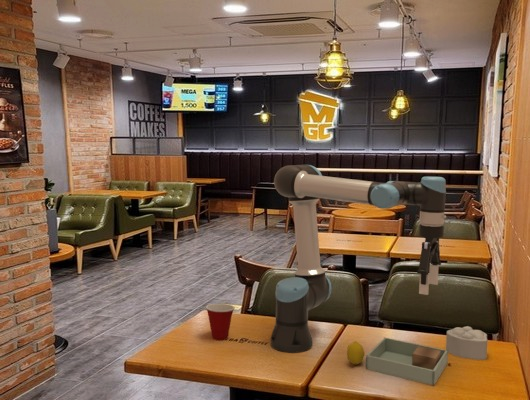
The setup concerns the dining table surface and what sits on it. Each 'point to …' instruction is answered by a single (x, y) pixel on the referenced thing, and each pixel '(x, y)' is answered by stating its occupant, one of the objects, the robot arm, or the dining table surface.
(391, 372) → the box
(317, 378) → the dining table surface
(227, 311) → the plastic cup
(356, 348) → the lemon
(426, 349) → the walnut block
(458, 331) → the lumpy-topped squat cylinder
